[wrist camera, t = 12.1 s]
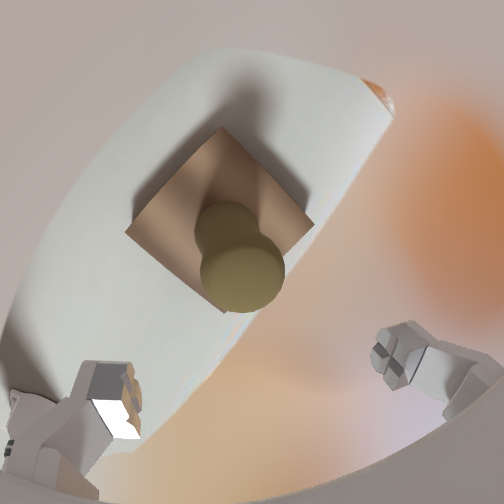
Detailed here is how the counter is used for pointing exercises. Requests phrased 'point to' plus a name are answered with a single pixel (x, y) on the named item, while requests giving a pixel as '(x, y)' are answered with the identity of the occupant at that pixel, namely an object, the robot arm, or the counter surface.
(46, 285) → the counter surface
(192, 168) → the walnut base
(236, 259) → the olive pawn
